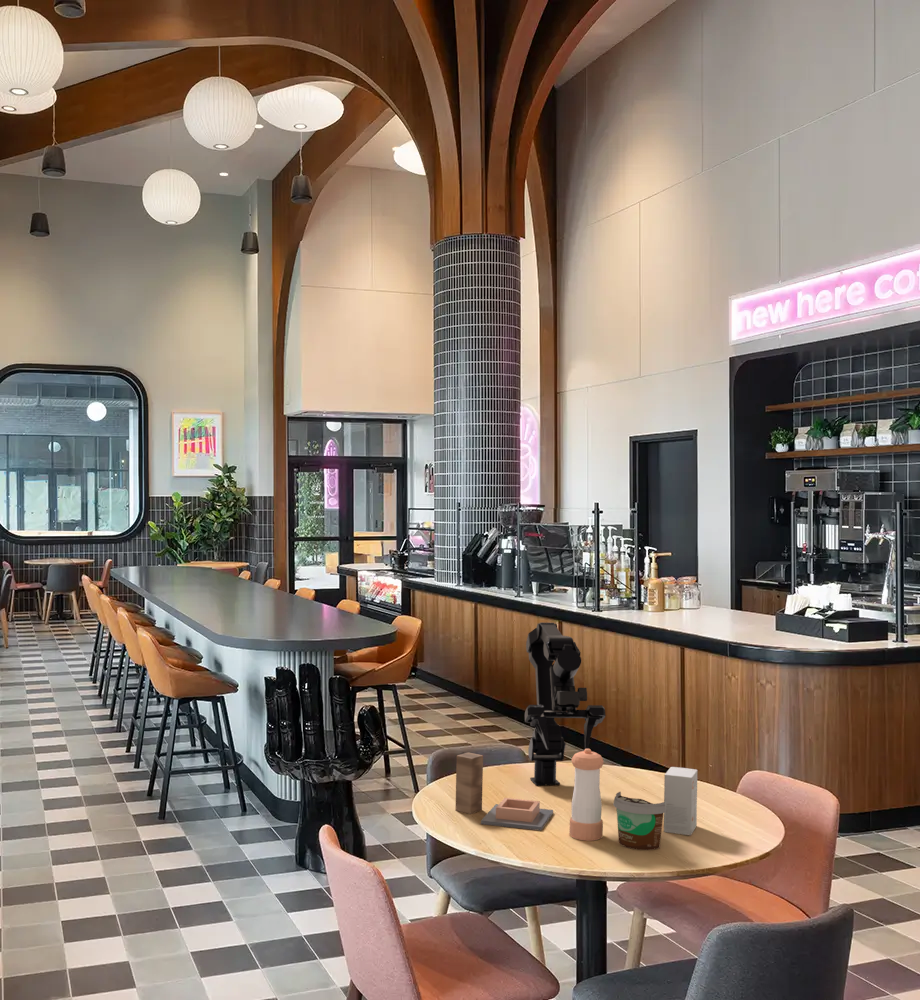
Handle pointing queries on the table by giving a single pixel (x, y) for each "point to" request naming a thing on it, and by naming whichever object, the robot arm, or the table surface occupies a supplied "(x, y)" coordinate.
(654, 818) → the food container
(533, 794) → the table surface
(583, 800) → the salt shaker
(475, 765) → the walnut block
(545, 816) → the jaw socket
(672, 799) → the small box
